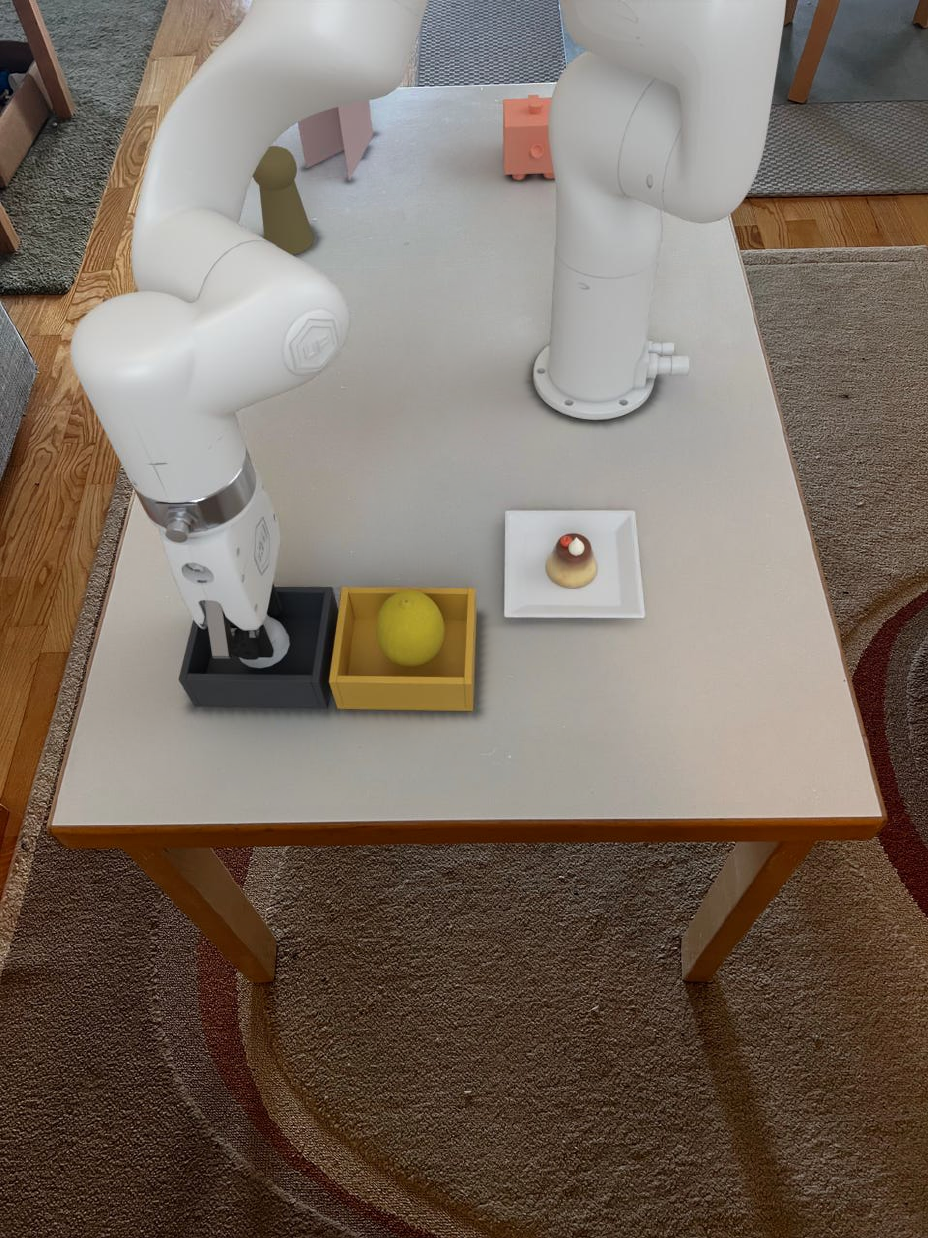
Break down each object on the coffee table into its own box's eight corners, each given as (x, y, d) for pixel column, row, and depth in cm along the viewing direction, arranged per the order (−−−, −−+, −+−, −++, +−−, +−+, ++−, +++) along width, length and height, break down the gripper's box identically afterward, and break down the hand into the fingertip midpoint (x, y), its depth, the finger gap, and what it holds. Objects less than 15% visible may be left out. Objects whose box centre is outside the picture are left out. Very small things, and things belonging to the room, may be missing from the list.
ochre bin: (476, 617, 79) (475, 587, 76) (473, 711, 74) (471, 683, 71) (349, 616, 80) (341, 586, 76) (337, 709, 75) (328, 681, 71)
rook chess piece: (227, 661, 76) (201, 607, 69) (254, 619, 78) (230, 563, 71) (274, 678, 75) (252, 624, 68) (300, 635, 77) (280, 579, 70)
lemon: (425, 694, 75) (418, 642, 68) (369, 666, 76) (356, 613, 70) (459, 644, 77) (455, 589, 71) (404, 618, 79) (394, 562, 72)
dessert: (505, 517, 86) (505, 483, 82) (633, 517, 85) (639, 483, 81) (504, 624, 79) (504, 592, 75) (643, 625, 78) (651, 592, 74)
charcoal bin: (340, 616, 80) (332, 586, 76) (327, 709, 75) (318, 681, 71) (215, 615, 81) (201, 585, 77) (194, 706, 75) (178, 679, 72)
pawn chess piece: (305, 257, 109) (287, 169, 100) (258, 253, 110) (236, 165, 101) (320, 228, 113) (303, 140, 103) (273, 224, 113) (253, 136, 104)
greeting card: (369, 132, 125) (353, 10, 112) (403, 152, 122) (392, 29, 109) (302, 165, 121) (279, 43, 108) (336, 187, 117) (316, 64, 105)
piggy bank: (505, 196, 115) (505, 131, 108) (502, 145, 122) (502, 80, 115) (567, 194, 115) (571, 128, 108) (561, 143, 121) (564, 78, 115)
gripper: (229, 582, 54) (289, 724, 69) (272, 390, 63) (317, 552, 79) (106, 581, 55) (193, 722, 70) (166, 390, 64) (231, 552, 79)
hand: (258, 631), depth 74 cm, fingers closed on rook chess piece, 3 cm apart
